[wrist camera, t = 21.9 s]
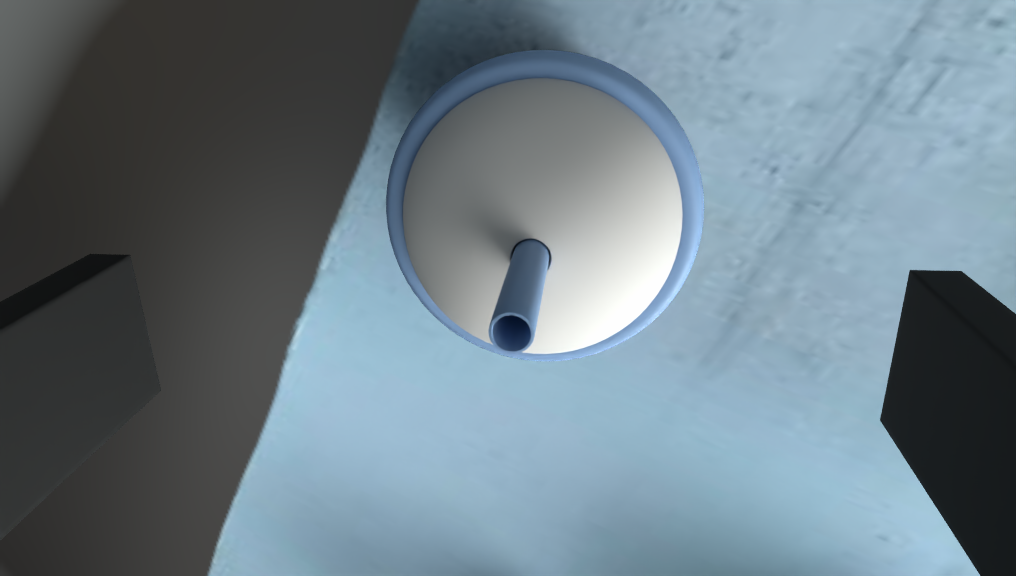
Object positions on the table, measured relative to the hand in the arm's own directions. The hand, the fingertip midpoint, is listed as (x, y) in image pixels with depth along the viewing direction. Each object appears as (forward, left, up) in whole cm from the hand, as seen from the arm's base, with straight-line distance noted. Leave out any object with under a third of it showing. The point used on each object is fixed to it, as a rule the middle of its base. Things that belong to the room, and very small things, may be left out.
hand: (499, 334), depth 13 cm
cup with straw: (0, 0, -19) cm, 19 cm away
